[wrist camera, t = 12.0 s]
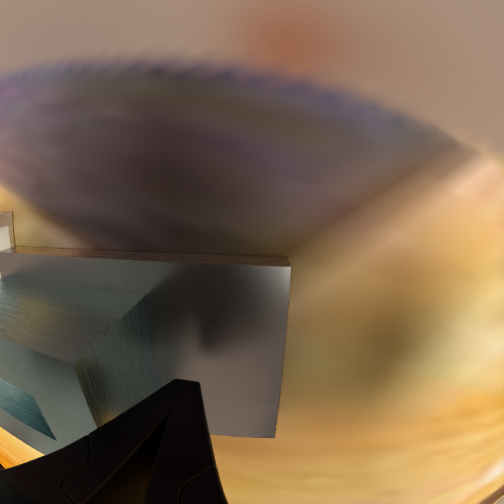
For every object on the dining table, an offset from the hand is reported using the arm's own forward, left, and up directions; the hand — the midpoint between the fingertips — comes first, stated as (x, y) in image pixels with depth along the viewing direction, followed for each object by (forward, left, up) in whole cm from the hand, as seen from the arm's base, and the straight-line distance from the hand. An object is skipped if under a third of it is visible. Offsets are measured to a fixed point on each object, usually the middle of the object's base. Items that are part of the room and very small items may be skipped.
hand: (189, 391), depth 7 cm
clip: (0, +5, -1) cm, 5 cm away
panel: (0, +3, -3) cm, 4 cm away
